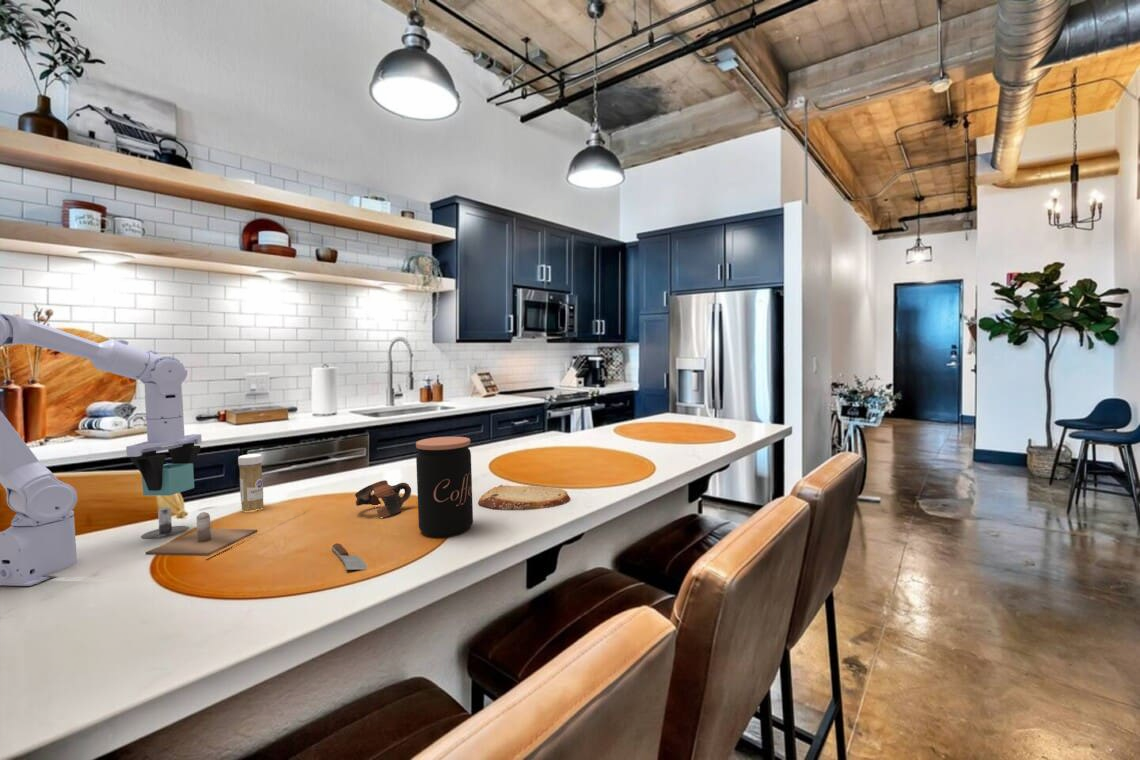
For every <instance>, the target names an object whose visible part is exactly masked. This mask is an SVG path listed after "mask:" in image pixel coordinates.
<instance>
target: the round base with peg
mask: <svg viewBox="0 0 1140 760" xmlns="http://www.w3.org/2000/svg"><path fill="white" fill-rule="evenodd" d="M157 514H158V515H157V517H158V518H157V519H158V529H157V528H156V529H153V530H150V531H148V532H145V533H143V534H141V536H140V538H141V539H143V540H156V539H164V538H170V537H174V536H177V535H181V534H183V533H185V532H187V531H189V530H190V526H187V525H175V526H173V525H172V524H173V523H172V507H162V508H159V509H158V510H157Z"/></svg>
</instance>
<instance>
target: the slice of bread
mask: <svg viewBox="0 0 1140 760" xmlns="http://www.w3.org/2000/svg"><path fill="white" fill-rule="evenodd" d="M570 501H571V497H570V495H569V493H568V491H566V490H565V489H563V488H558V487H557V488H556V487H550V486H539V485H538V486H534V485H533V486H532V485H527V486H525V485H522V486H521V485H503V484H500V485H498V486H497V487H496V486H494V487H493V488H490V489H489V490H487V491H486V492H485V493H483V494H482V495H481V496H480V497H479V499H478V503H477V505H478V506H479V507H482V508H488V509H491V510H497V511H526V510H528V511H529V510H541V509H549V508H554V507H559V506H562V505H566V504H567V503H569V502H570Z"/></svg>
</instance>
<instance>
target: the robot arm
mask: <svg viewBox="0 0 1140 760" xmlns="http://www.w3.org/2000/svg"><path fill="white" fill-rule="evenodd" d="M13 345H15V346H16V345H31V346H35V347H39V348H42V349H48V350H51V351H55V352H58V353H62V354H63V353H64V354H68V355H71V356H75V357H79V358H82V359H87V360H89V361H90V363H91V364H92V365H93V367H94V368H95V369H96V370H99V371H103V372H105V373H106V372H107V373H110V374H114V375H118V376H121V377H125V378H128V379H133V380H136V381H140V382H141V383H143V385H144V402H145V403H144V404H145V405H144V406H145V422H146V436H147V438H146V439H147V440H146V441H143V442H140V443H135V444H132V445H126V447H125V448H126V450H125V451H126V457H128V458H130V461H131V462H132V463H133V464H134V466H136V468H137V469H138V471H139V472H140V474H141V477H142V476H143V478H144V480H145V483H146V485H147V488H148V490H149V491H158V490H161V488H162V470H163V465H164V463H165V461H166V457H167V454H159V453H158V452H163V451H168V453H169V455H170V459H171V461H172V464H192V463H193V464H194V462H195V461H196V458H197V457H198V454H200V452H201V451H202V450H201V445H198V444H202V443H203V440H202V434H200V433H197V434H196V433H195V434H188V435H185V422H184V402H183V400H184V399H183V390H182V388H183V387H182V384H183V382H184V381H186V378H187V376H188V370H186V368H185V365H184V364H183V363H182V362H181V361H180V360H179V359H178V358H175V357H172V356H159V355H158V351H156V350H153V349H149V350H146V349H142V348H140V347H135V346H132V345H129V341H127V340H125V339H116V340H113V339H108V340H105V341H102V342H99V343H98V342H95V341H93V340H91V339H87V338H85V337H81V336H78V335H75V334H72V333H69V332H67V331H63V330H61V329H58V328H55V327H52V326H48V325H45V324H43V323H40V322H37V321H34V320H32V319H27V318H24V317H21V316H17V315H14V314H13V315H12V314H9V313H8V314H7V313H2V312H1V313H0V346H13ZM0 485H1V486H2V487H3V488H4V490H5V492H6V503H7V506H8V507H9V508H10V509H11V510H12V511H13V512H15V513H16V514H15V515H14V516H13V518H12V520H11V521H10V526H9V527H8V528H7V529H5V530H2V531H0V586H10V587H11V586H13V587H14V586H18V587H19V586H21V587H29V586H33V585H36V584H39V583H42V582H44V581H46V580H49V579H52V578H54V577H55V575H48V574H51V573H55V572H58V571H61V570H64V569H67V568H70V567H71V566H74V565H75V564H77V562H78V557H77V555H78V554H77V544H76V540H77V539H76V527H75V526H76V525H75V515H74V514H75V511H74V508H75V507H76V506H77V502H78V493H77V490H76V489H75V487H73V486H72V485H70V484H68V483H65V482H63V481H62V480H60V479H58V478H57V477H56V476H55V474H54V473H53V472H52V471H51V470H50V469H49V468H47V467H46V466H45V465H44V464H43V463H42V462H41V461H40V460H39V459H38V458H37V457H36V455H35V454H34V453H33V451H32V450H31V448H30V446H29V445H28V444H27V443H26V442H25V440H23V438H22V436H21V435H20V434H19V433H18V431H17V430H16V429H15V427H14V426H13V425H12V423H11V422H10V421H9V420H8V418H7V417H6V416H5V414H4V413H3V412H2V410H0Z"/></svg>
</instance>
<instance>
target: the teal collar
mask: <svg viewBox="0 0 1140 760" xmlns="http://www.w3.org/2000/svg"><path fill="white" fill-rule="evenodd" d="M194 474H195V473H194V463H192V464H173V463H165V464H164V465H163V470H162V488H161V490H158V491H149V490H148V488H147V485H146V483H145V480H144V478H143V476H142V475H141V480H142V495H143V496H168V497H169V496H173V495H176V494H180V493H183V492H185V491H189V490H192V489H194V488H195V478H194Z"/></svg>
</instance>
